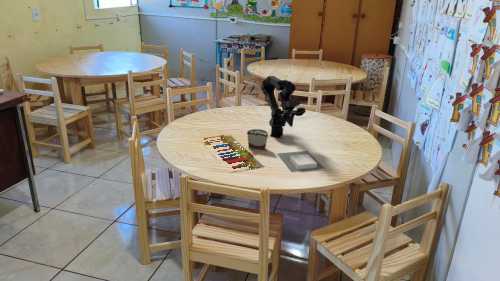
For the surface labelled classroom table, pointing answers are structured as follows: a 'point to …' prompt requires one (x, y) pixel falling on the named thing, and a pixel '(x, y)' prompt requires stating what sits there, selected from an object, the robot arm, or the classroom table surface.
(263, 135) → the food container
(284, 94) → the robot arm
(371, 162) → the classroom table surface
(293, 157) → the picture tile
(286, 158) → the felt mat
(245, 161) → the multicolored flat board
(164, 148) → the classroom table surface
